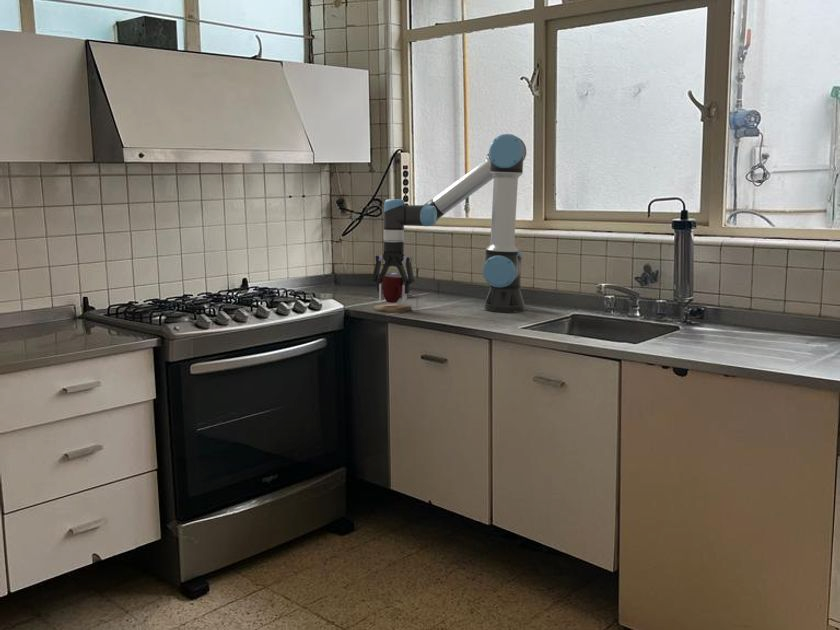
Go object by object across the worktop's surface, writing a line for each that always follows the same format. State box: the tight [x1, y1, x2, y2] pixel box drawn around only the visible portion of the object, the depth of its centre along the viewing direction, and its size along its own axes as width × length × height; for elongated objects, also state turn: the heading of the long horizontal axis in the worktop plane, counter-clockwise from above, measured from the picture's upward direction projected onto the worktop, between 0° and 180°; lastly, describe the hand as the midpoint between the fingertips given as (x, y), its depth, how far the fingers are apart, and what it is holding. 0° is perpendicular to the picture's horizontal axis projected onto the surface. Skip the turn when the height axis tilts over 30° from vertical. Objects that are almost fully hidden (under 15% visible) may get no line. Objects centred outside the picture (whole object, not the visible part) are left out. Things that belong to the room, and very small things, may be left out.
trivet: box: [373, 303, 412, 314], centre depth 324 cm, size 14×14×1 cm
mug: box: [382, 273, 404, 304], centre depth 323 cm, size 10×8×10 cm
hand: (392, 301), depth 324 cm, fingers closed on mug, 9 cm apart
